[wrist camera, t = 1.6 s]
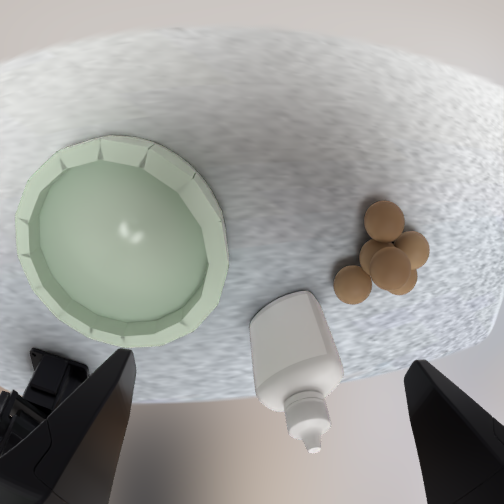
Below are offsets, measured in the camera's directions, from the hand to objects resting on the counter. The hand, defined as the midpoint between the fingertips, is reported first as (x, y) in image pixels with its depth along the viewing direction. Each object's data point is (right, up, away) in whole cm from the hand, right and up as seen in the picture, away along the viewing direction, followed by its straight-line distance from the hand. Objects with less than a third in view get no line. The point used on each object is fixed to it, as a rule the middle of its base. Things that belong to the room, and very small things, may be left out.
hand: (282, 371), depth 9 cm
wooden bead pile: (+8, +4, +14) cm, 16 cm away
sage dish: (-10, +4, +12) cm, 16 cm away
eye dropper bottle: (+2, -1, +16) cm, 16 cm away
